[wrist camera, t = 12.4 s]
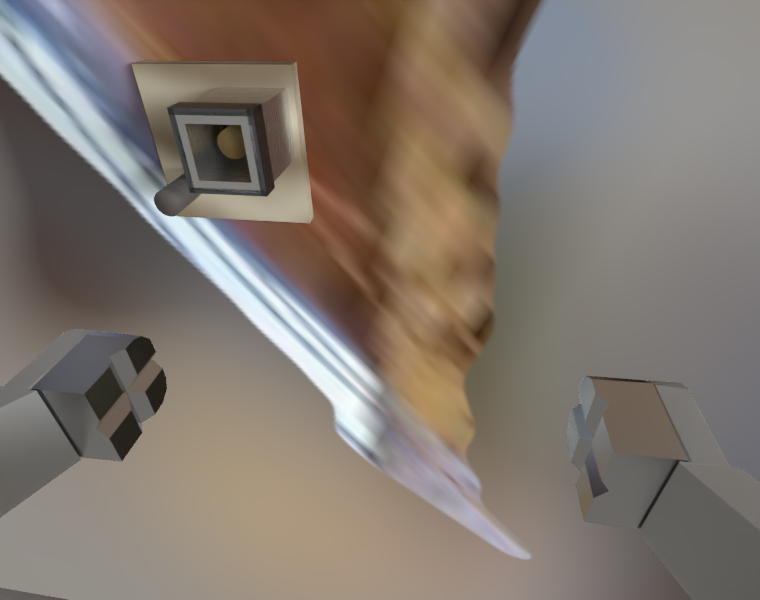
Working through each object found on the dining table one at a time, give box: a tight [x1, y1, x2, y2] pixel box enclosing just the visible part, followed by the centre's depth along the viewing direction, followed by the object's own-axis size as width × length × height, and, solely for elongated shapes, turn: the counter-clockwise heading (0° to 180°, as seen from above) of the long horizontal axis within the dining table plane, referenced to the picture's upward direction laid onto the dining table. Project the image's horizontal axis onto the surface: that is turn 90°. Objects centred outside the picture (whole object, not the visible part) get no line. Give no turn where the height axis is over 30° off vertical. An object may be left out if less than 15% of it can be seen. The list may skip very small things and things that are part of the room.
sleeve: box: [167, 87, 296, 197], centre depth 32 cm, size 5×5×7 cm
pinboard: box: [132, 61, 313, 223], centre depth 35 cm, size 12×12×6 cm
